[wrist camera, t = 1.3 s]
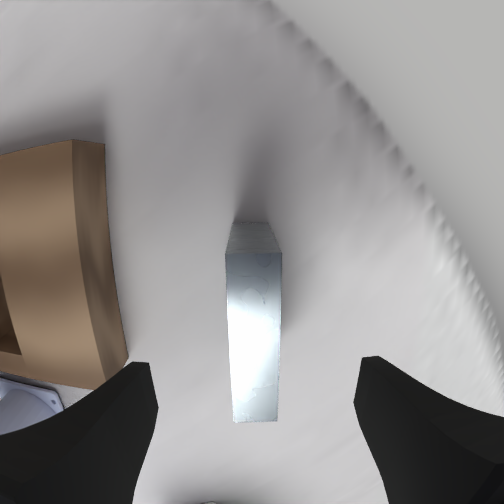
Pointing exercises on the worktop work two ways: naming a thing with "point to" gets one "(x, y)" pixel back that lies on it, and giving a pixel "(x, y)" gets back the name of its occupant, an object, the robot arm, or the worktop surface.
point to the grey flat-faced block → (254, 320)
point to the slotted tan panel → (58, 267)
